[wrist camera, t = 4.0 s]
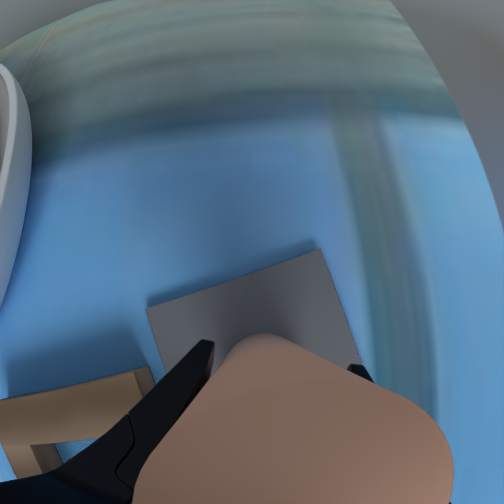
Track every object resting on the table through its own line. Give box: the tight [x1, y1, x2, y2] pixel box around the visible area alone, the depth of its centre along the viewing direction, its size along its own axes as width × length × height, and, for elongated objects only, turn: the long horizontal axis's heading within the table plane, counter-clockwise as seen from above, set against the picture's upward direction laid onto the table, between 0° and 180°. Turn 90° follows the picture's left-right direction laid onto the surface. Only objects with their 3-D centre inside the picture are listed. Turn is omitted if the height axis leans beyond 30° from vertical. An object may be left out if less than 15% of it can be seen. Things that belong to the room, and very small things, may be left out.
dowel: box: [132, 333, 454, 504], centre depth 9 cm, size 4×4×13 cm
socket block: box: [0, 365, 156, 479], centre depth 14 cm, size 12×12×2 cm
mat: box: [145, 249, 362, 377], centre depth 16 cm, size 10×10×1 cm
